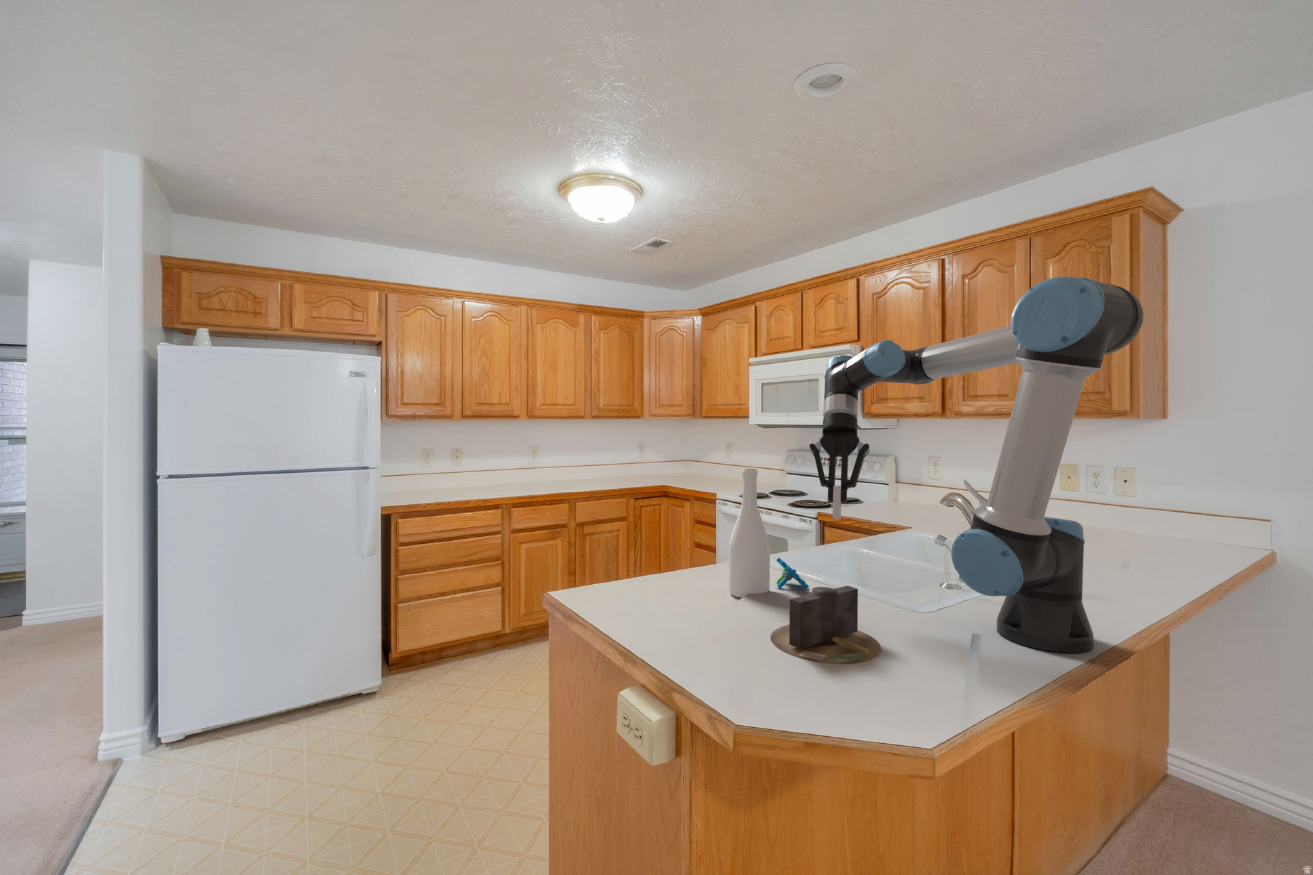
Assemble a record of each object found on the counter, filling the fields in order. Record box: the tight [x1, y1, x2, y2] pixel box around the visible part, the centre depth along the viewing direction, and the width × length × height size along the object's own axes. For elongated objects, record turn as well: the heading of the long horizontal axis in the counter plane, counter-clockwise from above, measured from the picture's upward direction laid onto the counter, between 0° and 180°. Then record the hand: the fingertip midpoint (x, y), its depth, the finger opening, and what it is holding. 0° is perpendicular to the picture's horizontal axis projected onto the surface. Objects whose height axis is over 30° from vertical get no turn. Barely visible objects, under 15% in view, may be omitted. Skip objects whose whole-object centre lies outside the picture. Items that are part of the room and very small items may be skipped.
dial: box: [770, 624, 882, 665], centre depth 102 cm, size 19×19×2 cm
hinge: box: [788, 585, 868, 654], centre depth 99 cm, size 15×11×9 cm
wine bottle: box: [728, 467, 771, 599], centre depth 135 cm, size 10×10×30 cm
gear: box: [775, 557, 810, 590], centre depth 140 cm, size 11×6×10 cm
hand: (836, 516), depth 119 cm, fingers closed
